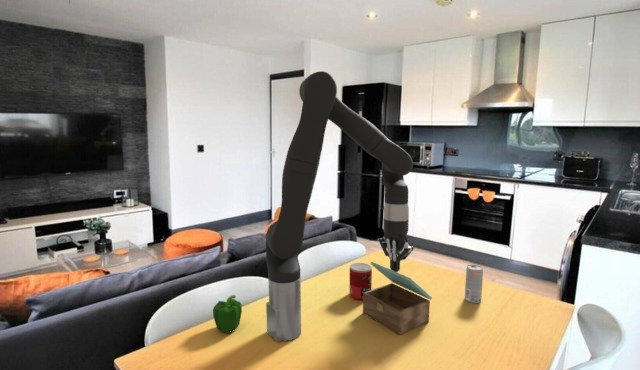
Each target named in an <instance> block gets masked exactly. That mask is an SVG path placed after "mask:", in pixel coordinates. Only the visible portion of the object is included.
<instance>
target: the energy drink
mask: <svg viewBox="0 0 640 370" xmlns="http://www.w3.org/2000/svg"><path fill="white" fill-rule="evenodd" d="M483 276H484V269H483V267H482V266H480V265H477V264H468V265H466V269H465V284H464V285H465V286H464V300H465V302H468V303H470V304H479V303H481V302H482V292H483V280H484V279H483V278H484V277H483Z"/></svg>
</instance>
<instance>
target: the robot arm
mask: <svg viewBox="0 0 640 370" xmlns="http://www.w3.org/2000/svg"><path fill="white" fill-rule="evenodd" d="M337 93H338V86H337V82H336V80H335V78H334V77H333V76H332V74H330V73H329V72H327V71H320V70H319V71H316V72H313V73H311V74H310V75H308V76H307V77H305V78H304V79H303V80H302V82H301V83H300V86H299V93H298V94H299V97H300V100H301V101H302V106H301V113H300V118H299V122H298V125H297V128H296V130H295V132H294V134H293V136H292V139H291V141H290V144H289V145H288V146H289V147H288V149H287V153H286V156H285V157H286V158H285V162H284V166H283V171H282V176H281V178H282V179H281V207H280V211H279V215H278V219H277V220H276V221H274V222H273V223H271V224H270V226H269V227H268V228H267V230H266V234H265V252H266V253H265V254H266V257H265V258H266V267H267V273H268V274H267V276H268V277H267V278H268V282H267V283H268V301H267V302H266V305H265V306H266V308H265V309H266V333H267V332H268V333H269V334H270V335H269V334H268V333H267V334H268V335H269V337H270V338H272V337H273V338H272V340H273V341H275V342H276V341H278V342H281V341H280V340H284V341H283V342H288V341H287V340H289V341H293V340H296V339H297V338H299V337H300V335H301V333H302V306H301V305H302V295H301V294H302V291H301V289H302V285H301V283H302V282H301V280H302V279H301V278H302V277H301V265H300V262H299V255H298V253H300V251H301V248H302V247H303V242H304V236H305V228H306V218H307V213H308V209H309V204H310V201H311V197H312V193H313V189H314V185H315V182H316V178H317V174H318V171H319V170H318V169H319V166H320V165H319V164H320V161H321V155H322V152H323V151H322V150H323V145H324V140H325V133H326V127H327V125H328V121H330V122H331V123H333V124H334V125H335V126H337V127H338V128H339V129H340V130H342V132H343V133H345V134H346V135H347V136H348V137H349V138H350V139H352V140H353V141H354V142H355V143H356V144H357V145H358V146H359V147H360V148H361V149H363V150H364V151H365V152H366V153H367V154H368V155H370V156H371V157H373V158H375V159H377V160H379V161H380V162H381V174H382V180H383V181H382V182H383V184H384V203H383V204H384V205H383V213H382V214H383V215H382V216H383V218H382V219H383V220H382V221H383V229H382V230H383V237H381V238H379V239H378V243H379V245H380V246H381V247H380V248H381V249H382V251H383V253H384V256H386V257H388V258H389V269H391V270H393V271H395V272H397V273H399V271H400V270H401V261H404V260H406V259H407V258H408V257H409V256H410V254H411V253H412V252H413V251H414V249H415V247H414V246H413V245H412V246H410V244H409V243H408V237H407V235H408V232H409V222H410V221H409V219H410V215H409V214H410V213H409V211H410V210H409V209H410V208H409V186H408V185H407V183H406V182H405V178H404V176H406V175H408V174H409V173H411V172H412V170H413V167H414V162H413V159H412V156H411V155H410V154H409V153H408V152H407V151H406V150H404V149H403V148H402V147H400V146H399V145H397V143H395V142H393V141H392V140H391V139H389V138H388V137H387V136H386V135H385V134H384V133H383V132H382V131H381V130H380V129H379V128H377V127H376V125H374V124H373V123H372V122H370V121H369V120H367V119H366V118H365V117H363V116H361V115H360V114H359V113H357V112H356V111H354V110H352V109H351V108H350V107H348V106H347V105H346V104H345V103H343V102H342V100H341V99H340V98H339V97H338V96H337V95H338V94H337ZM292 339H293V340H292Z"/></svg>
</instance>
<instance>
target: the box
mask: <svg viewBox="0 0 640 370" xmlns="http://www.w3.org/2000/svg"><path fill="white" fill-rule="evenodd" d="M430 302H431V300H430V299H427V298H425V297H423V296H421V295H419V294H417V293H415V292H412V291H410V290H408V289H406V288H404V287H402V286H399V285H397V284H395V283H393V282H391V283H388V284H385V285H382V286H380V287H376V288H374V289H371V290H370V291H367V292H364V293H363V300H362V314H364V315H365V314H366V316H367V315H368V316H367V317H369V318H370V317H371V318H370V319H372V320H374V321H375V322H377V323H379V324H380V325H381V326H383V327H385V328H386V329H388V330H390V331H391V332H393V333H395V334H396V335H398V336H401V335H404V334H406V333H408V332H409V331H412V330H414V329H418V328H419V327H421V326H422V325H425V324H427V323H429V322H430Z"/></svg>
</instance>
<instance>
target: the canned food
mask: <svg viewBox="0 0 640 370" xmlns="http://www.w3.org/2000/svg"><path fill="white" fill-rule="evenodd" d="M372 267H373V266H372V265H371V264H368V263H364V262H355V263H354V262H353V263H352V264H350V265H349V296H350V297H351V298H352V299H353V298H354V299H353V300H356V301H363V293H364V292H367V291H370V290H372V285H373V283H372V280H373V268H372Z"/></svg>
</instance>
